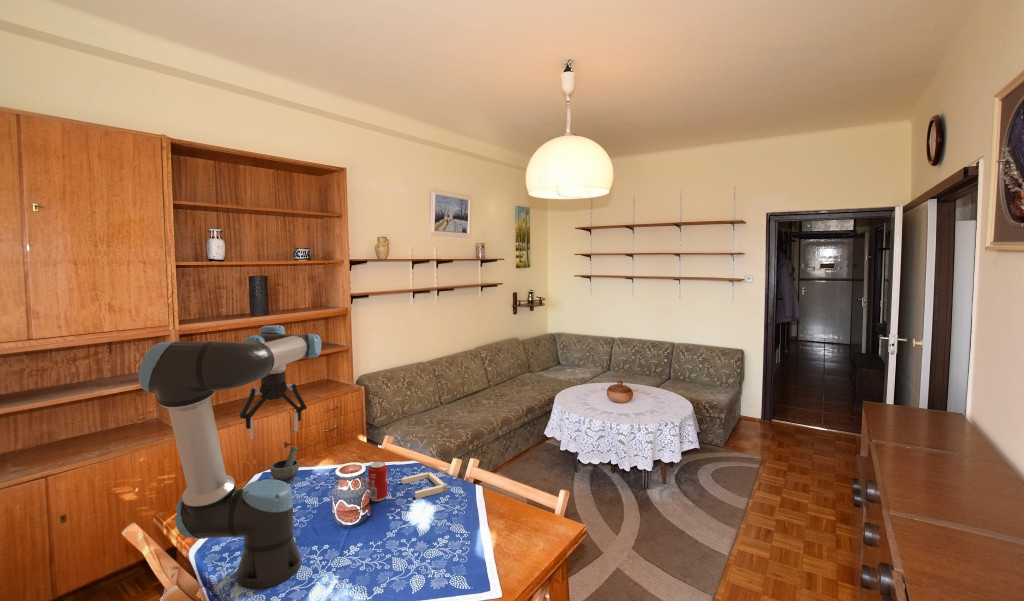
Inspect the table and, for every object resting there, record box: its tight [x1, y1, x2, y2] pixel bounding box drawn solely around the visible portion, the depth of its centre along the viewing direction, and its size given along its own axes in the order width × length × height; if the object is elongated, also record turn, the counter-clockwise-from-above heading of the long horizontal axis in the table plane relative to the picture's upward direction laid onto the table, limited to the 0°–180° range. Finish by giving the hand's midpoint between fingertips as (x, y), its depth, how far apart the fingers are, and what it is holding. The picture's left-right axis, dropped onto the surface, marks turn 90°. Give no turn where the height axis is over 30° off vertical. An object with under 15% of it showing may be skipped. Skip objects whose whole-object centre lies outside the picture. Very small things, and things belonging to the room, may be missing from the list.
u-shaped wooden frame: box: [400, 471, 448, 500], centre depth 176 cm, size 15×12×2 cm
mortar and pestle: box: [269, 446, 300, 485], centre depth 181 cm, size 11×9×12 cm
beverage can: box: [367, 461, 388, 502], centre depth 167 cm, size 6×6×12 cm
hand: (274, 434), depth 163 cm, fingers open, 13 cm apart
